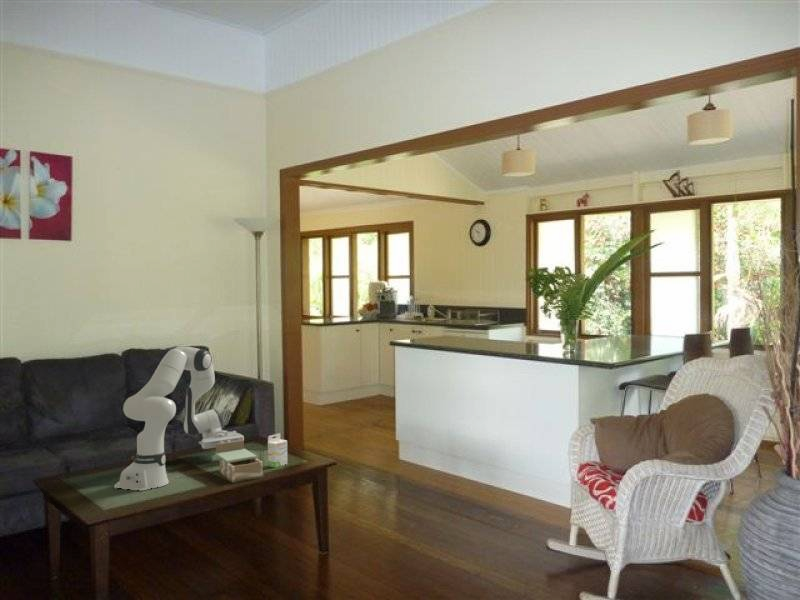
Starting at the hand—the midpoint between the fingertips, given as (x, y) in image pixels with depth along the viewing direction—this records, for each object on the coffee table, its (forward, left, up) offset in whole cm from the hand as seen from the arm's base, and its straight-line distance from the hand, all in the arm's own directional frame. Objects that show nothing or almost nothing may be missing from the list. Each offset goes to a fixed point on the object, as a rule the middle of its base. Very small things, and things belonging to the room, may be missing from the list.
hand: (227, 444), depth 315 cm
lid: (+8, -9, -3) cm, 12 cm away
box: (+12, -14, -10) cm, 21 cm away
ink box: (+24, +3, -11) cm, 26 cm away
